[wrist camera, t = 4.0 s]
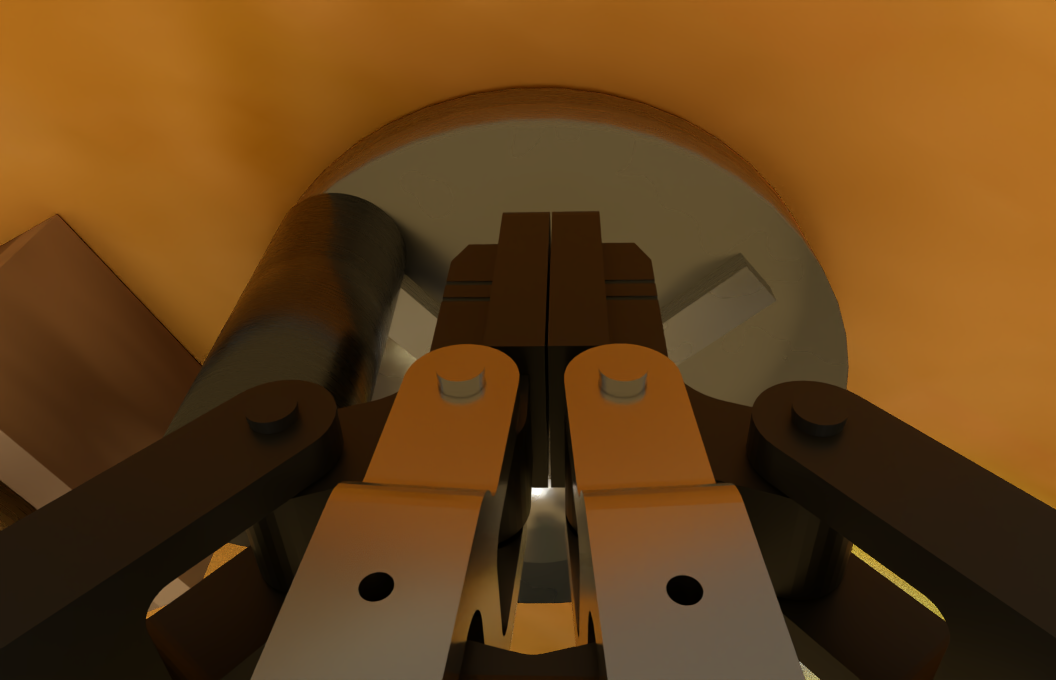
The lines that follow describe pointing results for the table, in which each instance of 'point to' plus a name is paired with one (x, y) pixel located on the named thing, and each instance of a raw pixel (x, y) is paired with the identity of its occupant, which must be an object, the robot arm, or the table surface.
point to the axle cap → (546, 524)
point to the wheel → (475, 218)
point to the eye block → (80, 372)
